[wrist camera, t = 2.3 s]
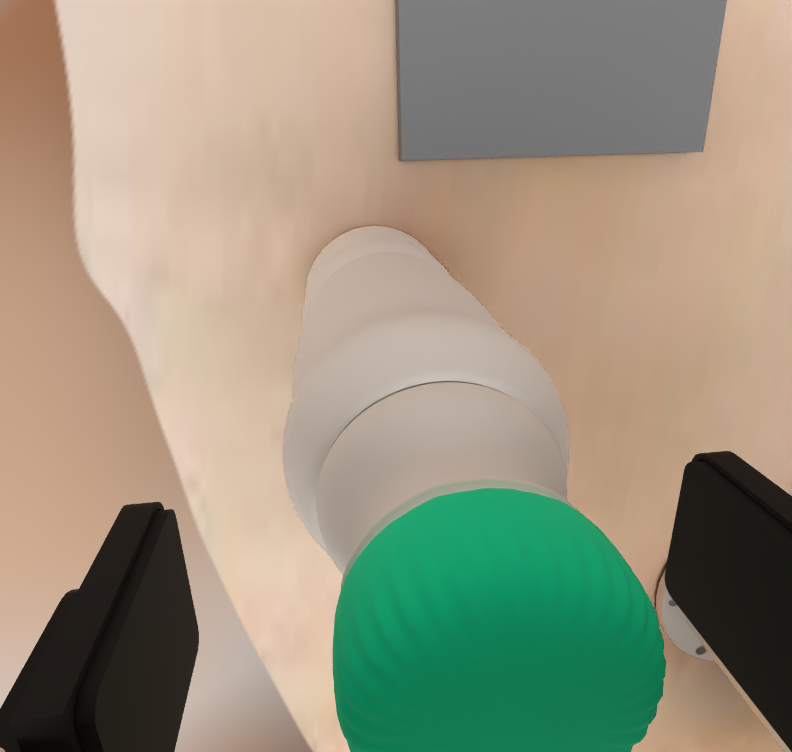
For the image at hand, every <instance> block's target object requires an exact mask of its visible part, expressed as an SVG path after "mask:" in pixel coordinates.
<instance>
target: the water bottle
mask: <svg viewBox="0 0 792 752" xmlns="http://www.w3.org/2000/svg"><path fill="white" fill-rule="evenodd" d="M568 463H569V433H568V426H567V420H566V416H565V412H564V408H563V405H562V402H561V400H560V397H559V395H558V392H557V390H556V388H555V386H554V384H553V382H552V380H551V379H550V377H549V375H548V374H547V372H546V371H545V369H544V368H543V367H542V365H541V364H540V363H539V362H538V360H537V359H536V358H535V357H534V356H533V355H532V354H531V353H530V352H529V351H528V350H527V349H526V348H525V347H524V346H523V345H522V344H521V343H519V342H518V341H517V340H516V339H514V338H513V337H512V336H510V335H509V334H507V333H506V332H504V331H503V330H502V328H501V327H500V326H499V324H498V323H497V322H496V321H495V319H494V318H493V317H492V316H491V315H490V314H489V313H488V311H487V310H486V309H485V308H484V307H483V306H482V305H481V304H480V303H479V302H478V301H477V300H476V299H475V298H474V297H473V296H472V295H471V294H470V293H469V292H468V291H467V290H466V289H465V288H464V287H463V286H462V285H461V284H459V283H458V282H457V281H456V280H455V279H453V278H452V277H451V276H450V274H449V273H448V272H447V271H446V269H445V268H444V267H443V266H442V265H441V264H440V263H439V262H438V261H437V260H436V259H435V258H434V257H433V256H432V255H431V254H430V252H429V251H428V250H427V249H426V248H425V247H424V246H423V245H422V244H421V243H420V242H418V241H417V240H416V239H414V238H413V237H411V236H410V235H408V234H406V233H404V232H402V231H399V230H397V229H393V228H389V227H383V226H366V227H360V228H356V229H353V230H350V231H348V232H345V233H343V234H341V235H340V236H338V237H336V238H335V239H334V240H332V241H331V242H330V243H329V244H328V245H327V246H326V247H325V248H324V249H323V250H322V251H321V252H320V254H319V255H318V256H317V258H316V260H315V261H314V263H313V265H312V267H311V270H310V272H309V275H308V279H307V283H306V290H305V302H304V307H303V316H302V329H301V333H300V338H299V342H298V348H297V354H296V361H295V369H294V380H293V401H292V404H291V407H290V410H289V413H288V416H287V420H286V425H285V430H284V437H283V468H284V475H285V480H286V485H287V488H288V492H289V495H290V498H291V501H292V503H293V505H294V508H295V510H296V512H297V514H298V516H299V518H300V520H301V521H302V523H303V525H304V526H305V528H306V529H307V531H308V532H309V533H310V535H311V536H312V537H313V539H314V540H315V541H316V542H317V543H318V544H319V545H320V547H321V548H322V549H323V550H324V551H325V552H326V553H327V554H328V555H329V556H330V557H331V558H332V560H333V562H334V563H335V565H336V566H337V568H338V569H339V571H340V572H341V573H342V574H343V579H342V584H341V593H340V596H339V600H338V604H337V608H336V613H335V623H334V637H333V678H334V692H335V700H336V709H337V716H338V719H339V723H340V726H341V730H342V732H343V735H344V737H345V738H346V739H347V742H348V745H349V749H350V751H351V752H631V750H632V746H633V745H634V744H636V743H638V742H640V741H641V740H642V739H643V738H644V736H645V735H646V733H647V728H648V724H650V723H651V722H652V720H653V719H654V717H655V716H656V711H657V704H658V702H659V700H660V699H661V697H662V695H663V683H664V682H663V678H664V676H665V667H666V661H665V658H664V655H663V650H664V641H663V637H662V634H661V632H660V629H659V623H658V620H657V616H656V613H655V611H654V608H653V605H652V603H651V601H650V599H649V597H648V595H647V594H646V592H645V590H644V588H643V587H642V585H641V583H640V582H639V580H638V579H637V577H636V576H635V574H634V573H633V571H632V570H631V568H630V567H629V565H628V564H627V562H626V561H625V560H624V558H623V557H622V555H621V554H620V553H619V551H618V550H617V549H616V547H615V546H614V545H613V544H612V543H611V542H610V540H609V539H608V538H607V537H606V536H605V535H604V534H603V532H602V531H601V530H600V529H599V528H598V527H597V526H595V525H594V524H593V523H592V522H591V521H590V520H589V519H587V518H586V517H585V516H584V515H583V514H581V513H580V512H579V511H578V510H577V509H576V508H575V507H574V506H573V505H572V504H571V503H570V502H569V501H567V483H566V479H567V471H568Z"/></svg>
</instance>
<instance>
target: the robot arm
mask: <svg viewBox="0 0 792 752" xmlns="http://www.w3.org/2000/svg"><path fill="white" fill-rule="evenodd" d="M656 611H657V615H658V619H659V622H660V624H661V626H662V627H663V629H664V631H665V632H666V634H667V635H668V636H669V638H670V639H671V640H672V642H673V643H674V644H675V645H676V646H677V647H678V648H680V649H681V650H682V651H683V652H685V653H687V654H689V655H691V656H693V657H695V658H699V659H703V660H708V661H715V662H716V663H717V665H718V666H719V667H720V669H721V670H722V671H723V672H724V674H725V675H726V676H727V678H728V679H729V680H730V682H731V683H732V684H733V686H734V687H735V688H736V690H737V691H738V692H739V694H740V695H741V696H742V697H743V699H744V700H745V701H746V703H747V704H748V705H749V707H750V708H751V709H752V711H753V712H754V713H755V715H756V716H757V717H758V719H759V720H760V721H761V723H762V724H763V725H764V726H765V728H766V729H767V730H768V732H769V733H770V734H771V736H772V737H773V738H774V740H775V741H776V742H777V744H778V745H779V746H780V748H781V749H782V750H783V751H784V752H792V496H791V495H789V494H788V493H787V492H785V491H784V490H783V489H781V488H780V487H779V486H777V485H776V484H774V483H773V482H772V481H770V480H769V479H768V478H766V477H765V476H764V475H762V474H761V473H760V472H758V471H757V470H756V469H754V468H753V467H752V466H750V465H749V464H748V463H746V462H745V461H744V460H742V459H741V458H740V457H738V456H737V455H736V454H734V453H732V452H730V451H722V452H711V453H700V454H697V455H695V457H694V458H693V459H692V462H690V463H688V464H687V465H686V466H685V470H684V474H683V480H682V485H681V490H680V496H679V501H678V506H677V512H676V517H675V522H674V528H673V533H672V538H671V544H670V549H669V554H668V560H667V565H666V569H665V571H664V573H663V575H662V578H661V580H660V582H659V586H658V591H657V595H656ZM198 644H199V632H198V625H197V620H196V615H195V610H194V605H193V600H192V595H191V590H190V585H189V580H188V575H187V569H186V564H185V559H184V554H183V550H182V544H181V539H180V534H179V529H178V524H177V519H176V515H175V513H174V510H172V509H170V510H164V507H163V506H162V504H161V503H160V502H153V503H142V504H131V505H125V506H123V508H122V509H121V511H120V513H119V515H118V517H117V519H116V520H115V522H114V524H113V526H112V528H111V530H110V532H109V534H108V535H107V537H106V539H105V541H104V543H103V545H102V547H101V549H100V551H99V552H98V554H97V556H96V558H95V560H94V562H93V564H92V565H91V568H90V569H89V571H88V573H87V575H86V577H85V579H84V581H83V583H82V584H81V586H80V588H79V589H76V590H71V591H69V592H67V593H66V594H65V596H64V597H63V598H62V599H61V601H60V603H59V604H58V606H57V608H56V610H55V612H54V613H53V615H52V617H51V619H50V621H49V622H48V624H47V626H46V628H45V630H44V631H43V633H42V635H41V637H40V639H39V640H38V642H37V644H36V646H35V647H34V649H33V651H32V653H31V655H30V657H29V658H28V660H27V662H26V664H25V665H24V667H23V669H22V671H21V673H20V674H19V676H18V678H17V680H16V682H15V683H14V685H13V687H12V689H11V691H10V692H9V694H8V696H7V698H6V700H5V701H4V703H3V705H2V707H1V708H0V752H174V750H175V746H176V742H177V737H178V733H179V729H180V724H181V720H182V716H183V712H184V707H185V703H186V699H187V694H188V690H189V686H190V682H191V677H192V673H193V669H194V665H195V660H196V656H197V651H198Z"/></svg>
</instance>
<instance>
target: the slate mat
mask: <svg viewBox="0 0 792 752" xmlns="http://www.w3.org/2000/svg"><path fill="white" fill-rule="evenodd" d="M726 1H727V0H395V3H396V48H397V92H398V137H399V160H400V161H410V160H444V159H478V158H511V157H545V156H579V155H613V154H646V153H680V152H703V149H704V143H705V136H706V130H707V123H708V117H709V111H710V104H711V98H712V91H713V85H714V78H715V72H716V66H717V59H718V53H719V46H720V40H721V33H722V27H723V21H724V14H725V8H726Z"/></svg>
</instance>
